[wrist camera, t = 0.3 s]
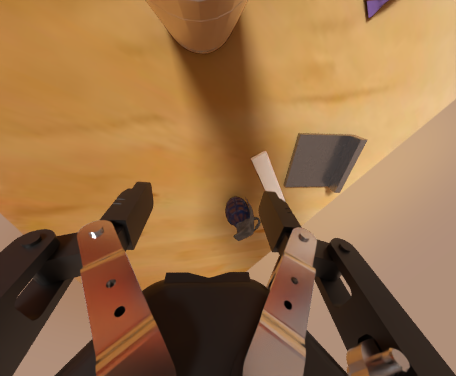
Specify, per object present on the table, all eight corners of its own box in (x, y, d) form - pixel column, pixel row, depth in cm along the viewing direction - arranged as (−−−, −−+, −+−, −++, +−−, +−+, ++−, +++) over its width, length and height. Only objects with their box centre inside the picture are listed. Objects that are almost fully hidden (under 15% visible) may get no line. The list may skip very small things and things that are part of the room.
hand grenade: (241, 184, 34) (252, 218, 26) (252, 198, 36) (266, 233, 28) (219, 199, 35) (223, 235, 27) (232, 211, 38) (239, 248, 29)
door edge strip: (250, 158, 31) (251, 159, 30) (265, 150, 30) (266, 152, 30) (273, 208, 39) (274, 210, 38) (285, 203, 38) (287, 205, 37)
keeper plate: (298, 133, 29) (307, 138, 26) (353, 134, 30) (367, 139, 28) (283, 185, 35) (290, 193, 32) (330, 184, 36) (339, 192, 34)
